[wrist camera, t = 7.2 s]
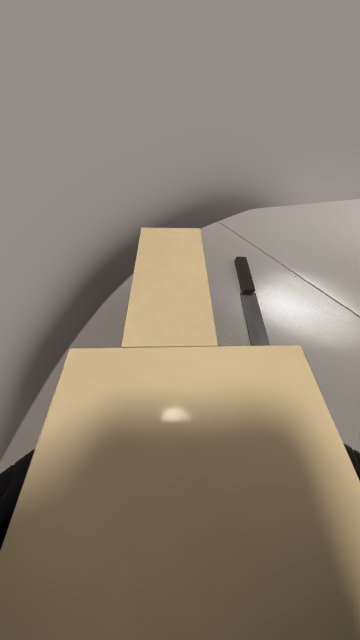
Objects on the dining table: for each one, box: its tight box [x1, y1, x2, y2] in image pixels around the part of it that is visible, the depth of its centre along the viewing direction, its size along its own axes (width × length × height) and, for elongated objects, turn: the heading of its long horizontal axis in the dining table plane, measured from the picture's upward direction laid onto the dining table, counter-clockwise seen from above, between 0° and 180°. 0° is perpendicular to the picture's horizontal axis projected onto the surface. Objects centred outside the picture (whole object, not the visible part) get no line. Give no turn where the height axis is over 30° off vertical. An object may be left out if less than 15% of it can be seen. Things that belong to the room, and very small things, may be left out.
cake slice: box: [0, 345, 360, 640], centre depth 8 cm, size 4×6×11 cm
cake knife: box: [235, 257, 270, 346], centre depth 26 cm, size 18×2×1 cm, turn 179°
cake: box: [121, 228, 218, 348], centre depth 18 cm, size 13×6×11 cm, turn 1°
